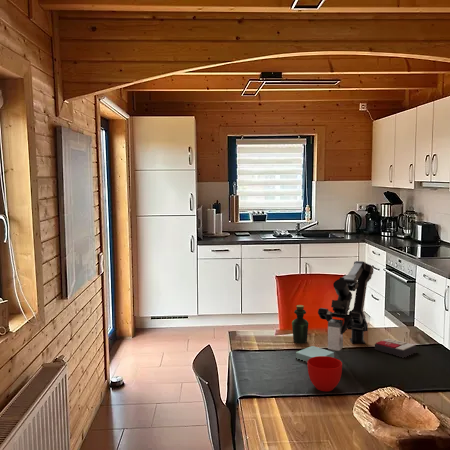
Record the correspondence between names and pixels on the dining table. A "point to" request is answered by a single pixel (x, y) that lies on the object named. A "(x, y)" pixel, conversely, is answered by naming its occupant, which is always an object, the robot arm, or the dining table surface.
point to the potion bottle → (300, 326)
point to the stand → (313, 353)
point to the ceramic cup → (324, 372)
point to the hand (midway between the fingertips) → (335, 333)
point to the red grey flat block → (395, 347)
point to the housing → (335, 334)
